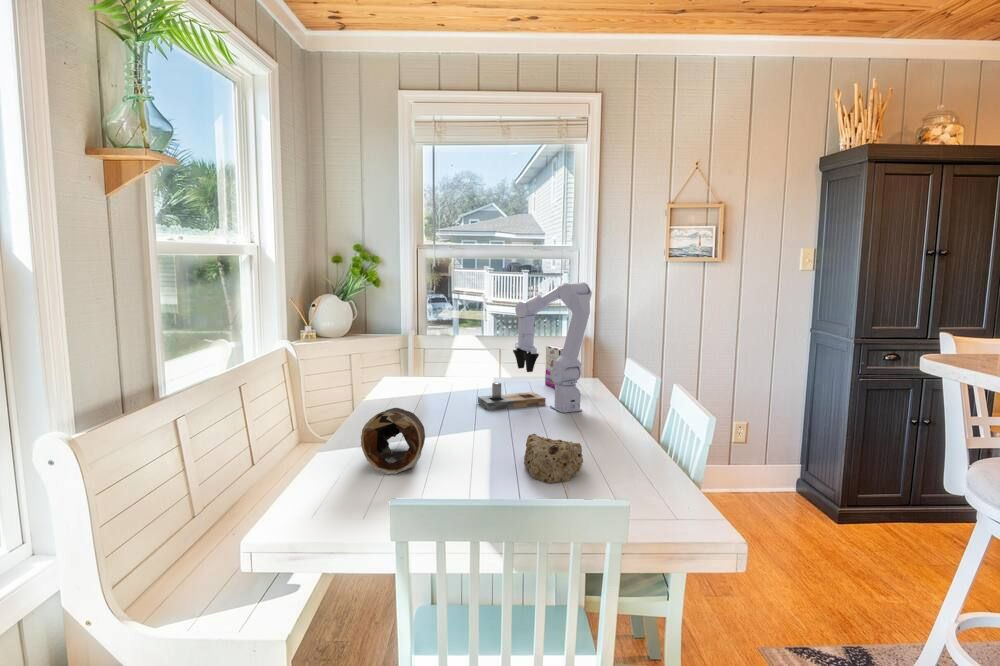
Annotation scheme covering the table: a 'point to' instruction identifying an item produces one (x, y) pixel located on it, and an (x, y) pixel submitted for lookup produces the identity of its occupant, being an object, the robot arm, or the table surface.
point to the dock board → (512, 401)
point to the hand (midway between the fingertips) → (525, 370)
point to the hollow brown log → (386, 428)
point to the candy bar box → (551, 362)
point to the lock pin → (496, 391)
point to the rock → (552, 459)
